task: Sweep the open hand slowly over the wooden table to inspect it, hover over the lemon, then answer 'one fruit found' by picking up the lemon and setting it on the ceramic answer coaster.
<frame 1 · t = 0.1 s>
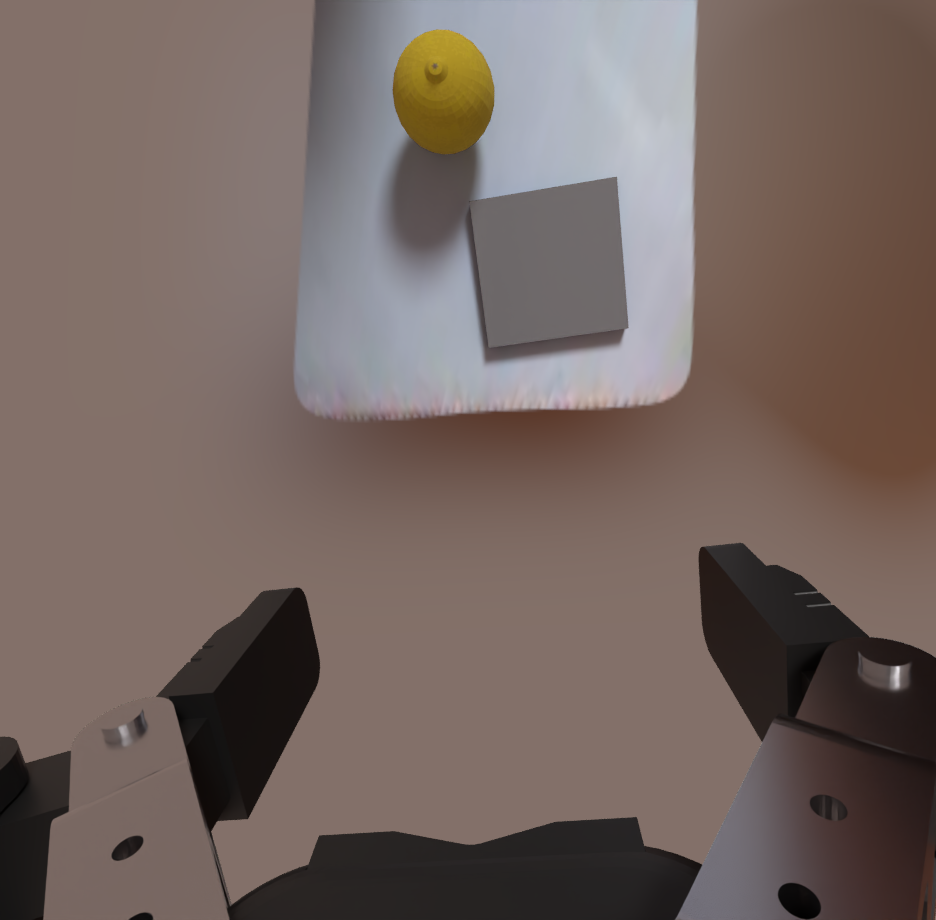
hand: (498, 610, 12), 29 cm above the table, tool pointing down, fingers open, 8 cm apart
lemon: (451, 120, 36), on the table
answer coaster: (549, 267, 38), on the table
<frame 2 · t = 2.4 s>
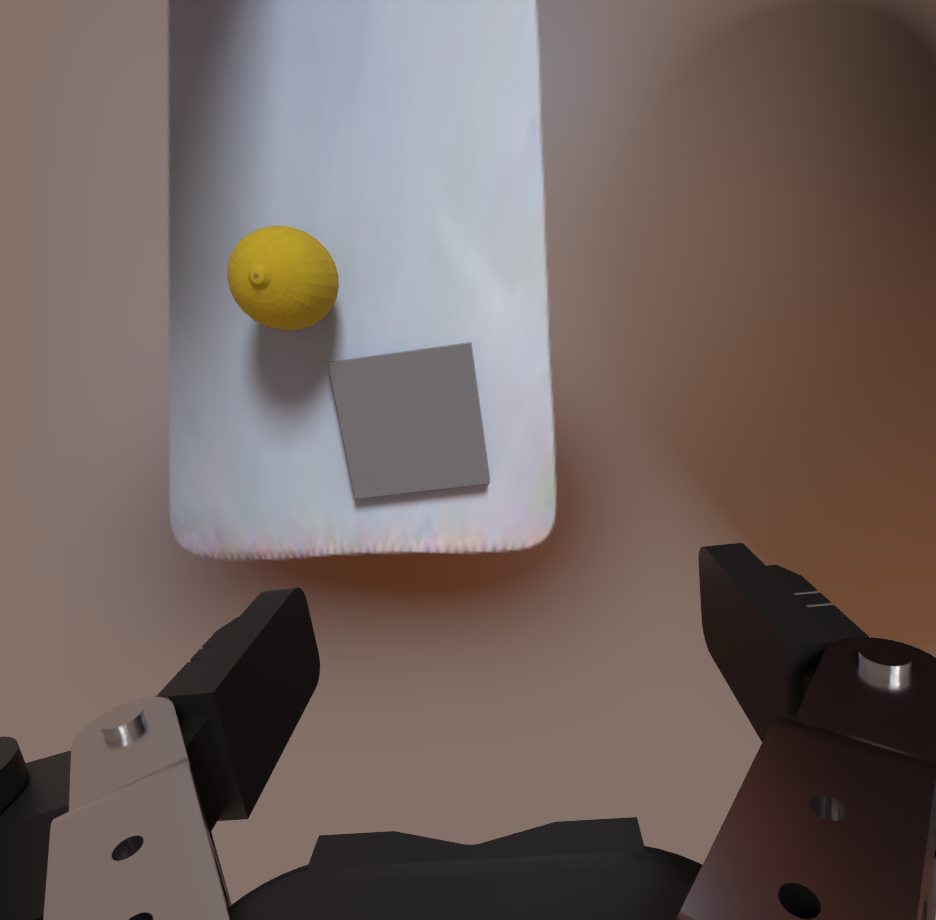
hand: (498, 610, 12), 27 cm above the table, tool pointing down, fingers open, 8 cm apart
lemon: (310, 282, 37), on the table
answer coaster: (412, 421, 38), on the table
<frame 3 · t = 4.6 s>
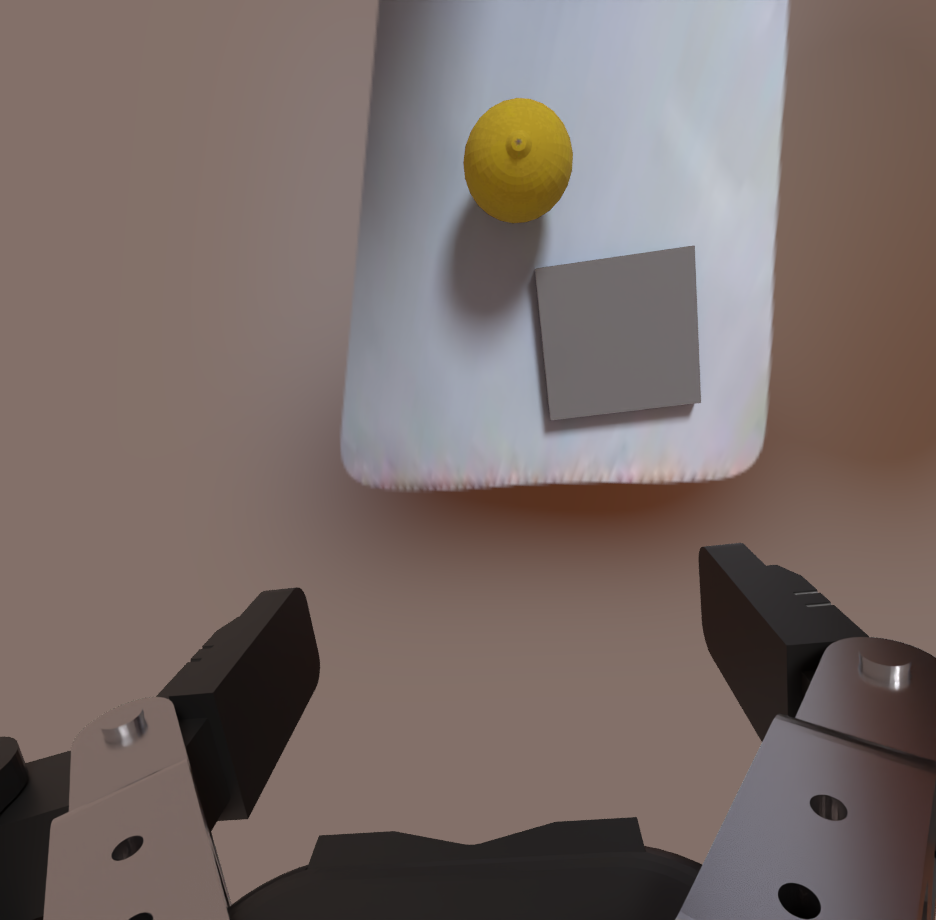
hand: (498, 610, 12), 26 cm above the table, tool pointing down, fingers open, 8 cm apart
lemon: (516, 182, 34), on the table
answer coaster: (616, 336, 36), on the table
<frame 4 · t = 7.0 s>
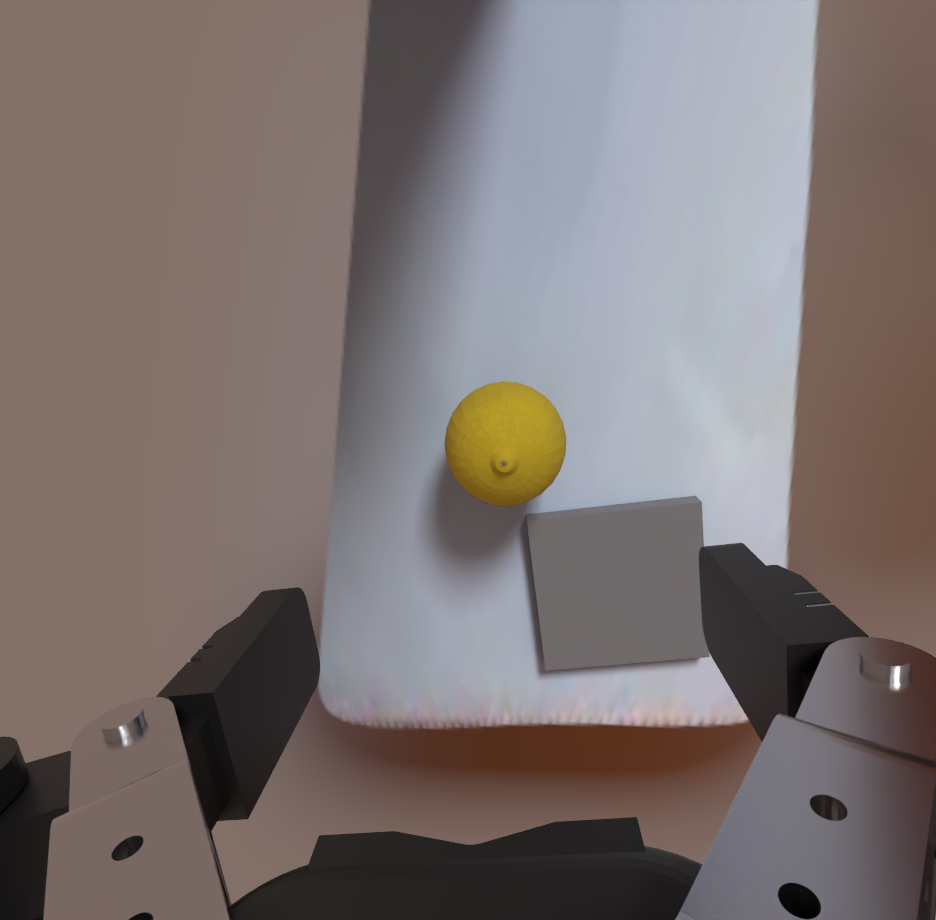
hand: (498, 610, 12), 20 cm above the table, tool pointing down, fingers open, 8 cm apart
lemon: (505, 425, 31), on the table
answer coaster: (616, 582, 33), on the table
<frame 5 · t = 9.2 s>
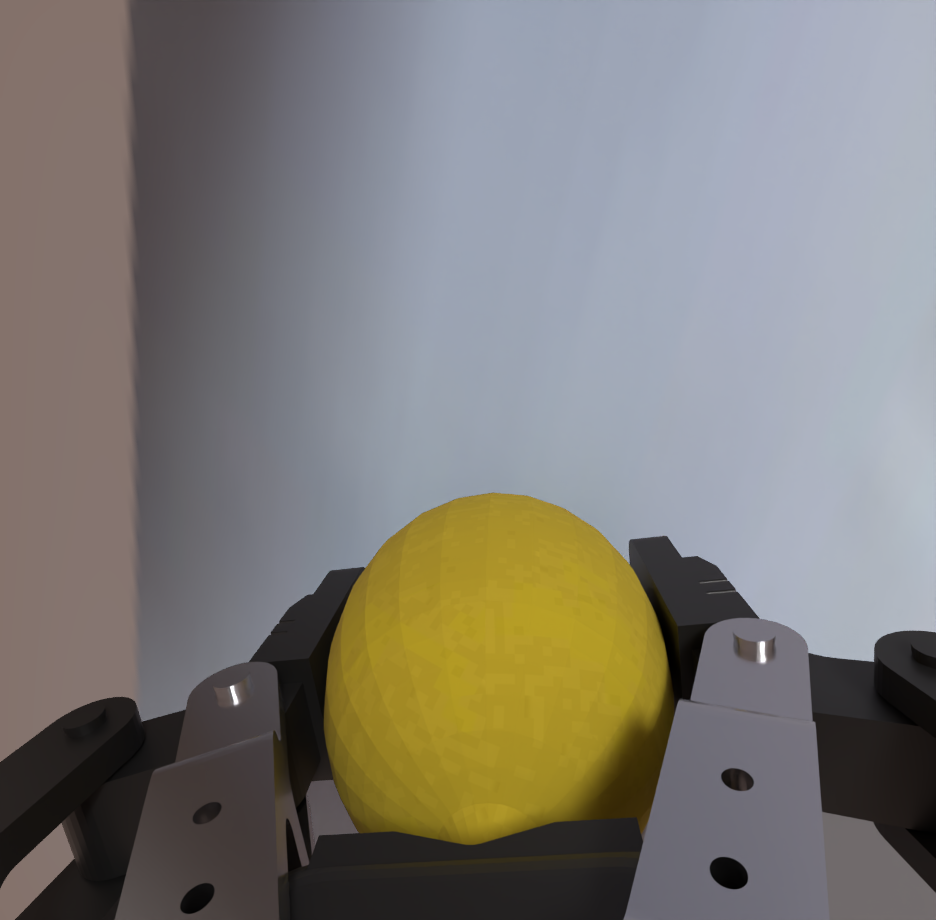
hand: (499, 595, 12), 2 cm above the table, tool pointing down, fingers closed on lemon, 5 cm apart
lemon: (500, 561, 14), on the table, touching gripper
answer coaster: (733, 874, 16), on the table
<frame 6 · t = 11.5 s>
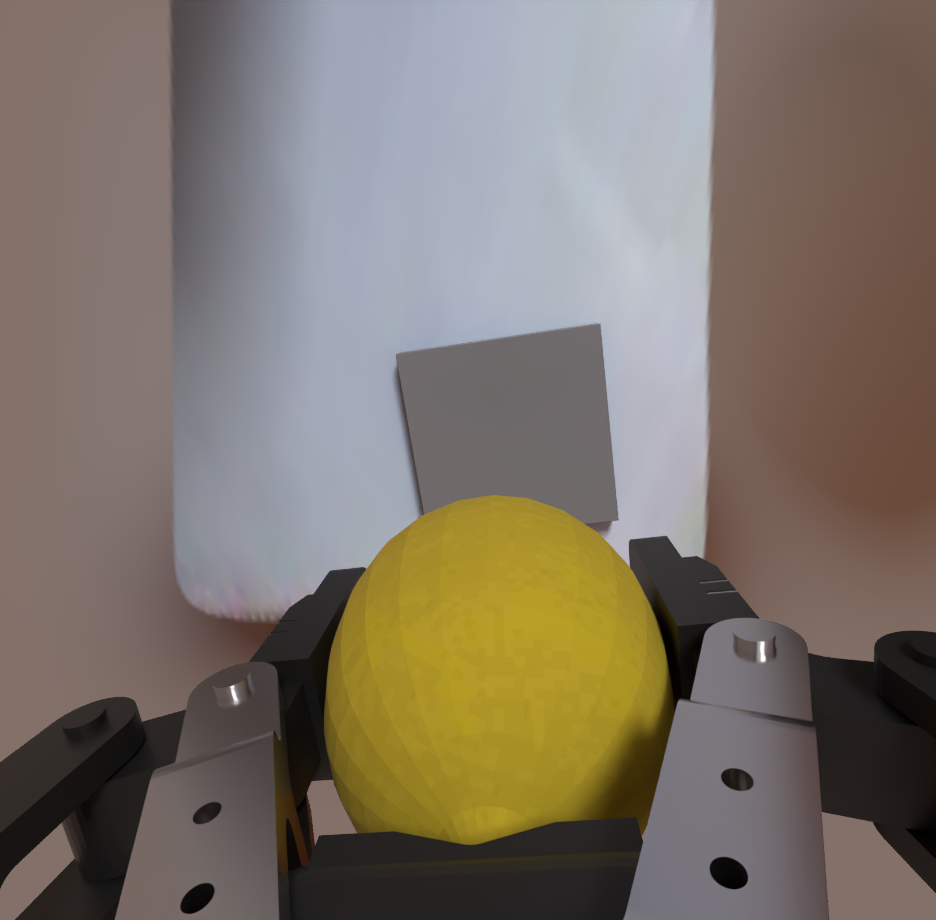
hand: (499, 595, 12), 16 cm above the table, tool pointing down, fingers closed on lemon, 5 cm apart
lemon: (500, 562, 14), point 14 cm above the table, touching gripper
answer coaster: (509, 434, 28), on the table
when the fingers open (4 cm above the table, at t = 14.2 s): lemon drops 1 cm, resting on answer coaster.
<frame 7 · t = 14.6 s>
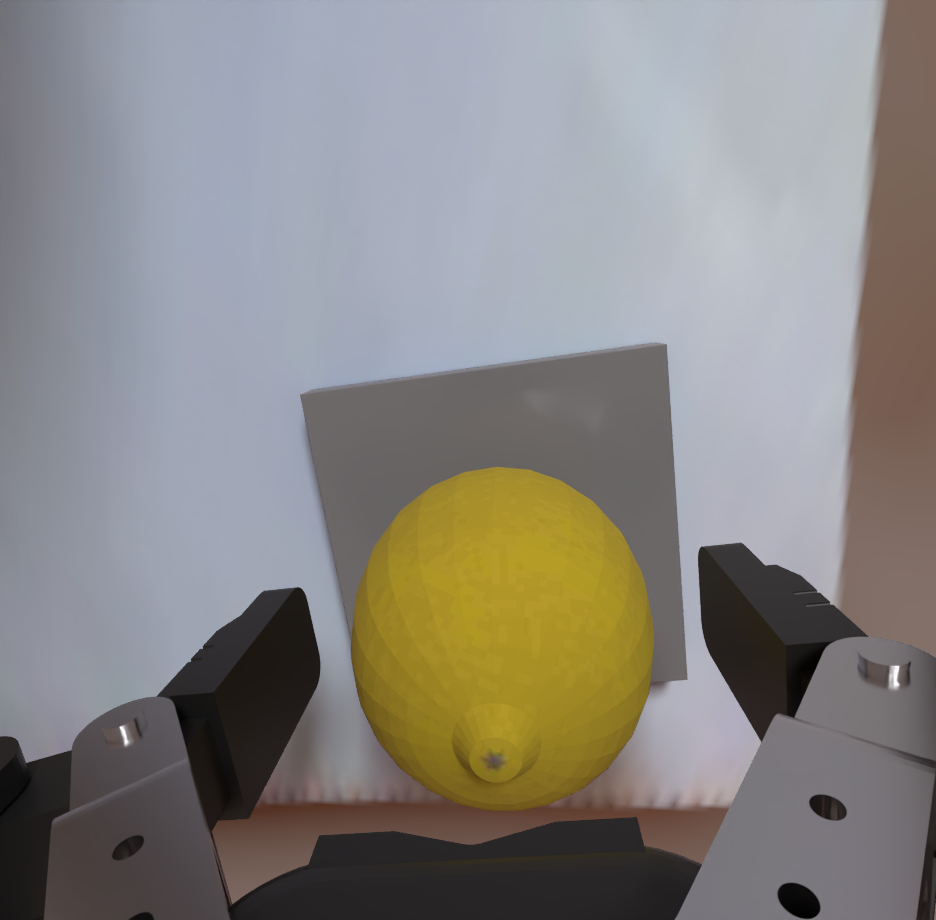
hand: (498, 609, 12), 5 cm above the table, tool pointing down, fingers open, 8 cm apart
lemon: (503, 537, 15), point 1 cm above the table, touching answer coaster
answer coaster: (501, 528, 16), on the table
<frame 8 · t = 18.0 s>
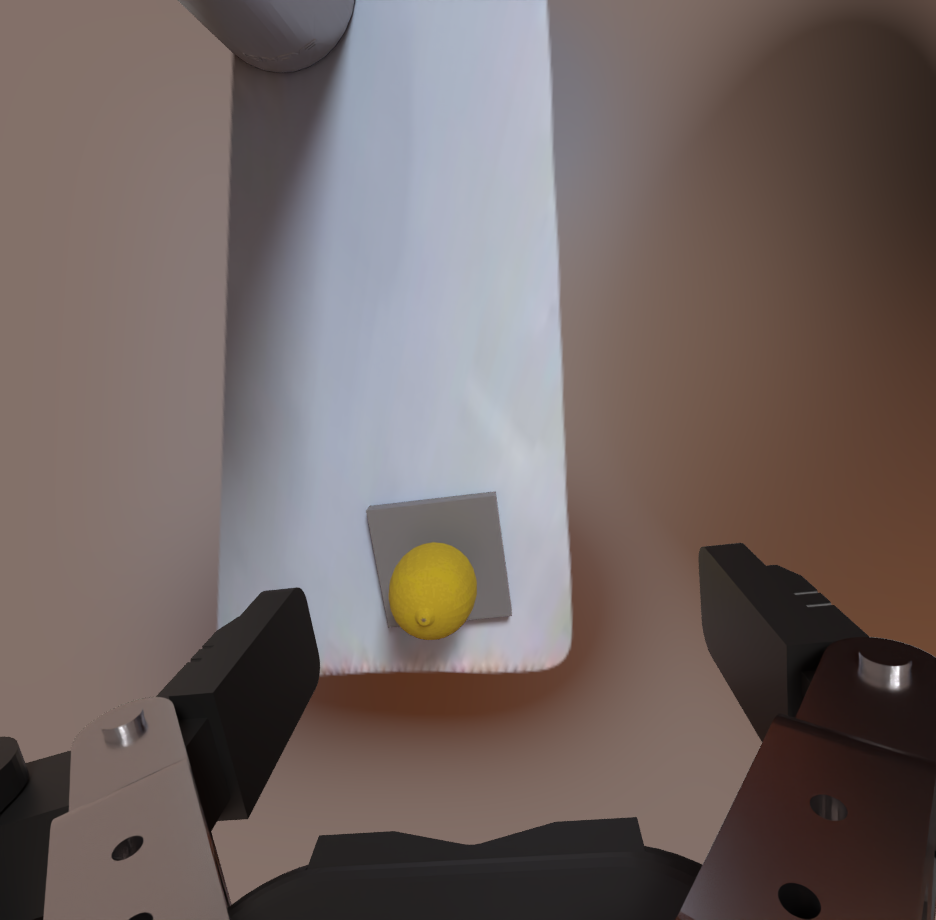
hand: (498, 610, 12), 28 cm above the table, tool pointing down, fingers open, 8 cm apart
lemon: (441, 561, 41), point 1 cm above the table, touching answer coaster
answer coaster: (441, 558, 42), on the table
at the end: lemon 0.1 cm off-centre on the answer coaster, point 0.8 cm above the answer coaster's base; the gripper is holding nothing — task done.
